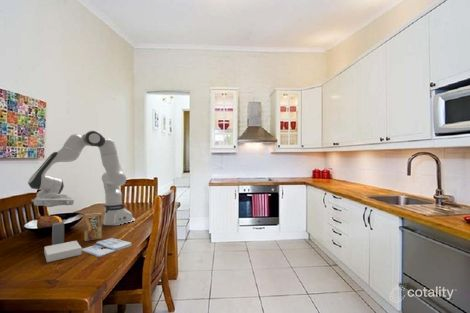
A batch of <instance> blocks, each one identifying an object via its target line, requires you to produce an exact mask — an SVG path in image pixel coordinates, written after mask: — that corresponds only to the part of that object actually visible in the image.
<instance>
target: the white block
mask: <svg viewBox="0 0 470 313" xmlns="http://www.w3.org/2000/svg"><path fill="white" fill-rule="evenodd" d="M43 249H44V250H43V253H44V256H45V257H44V258H45V259H46V260H45V261H46V263H50V262H54V261H58V260H62V259H68V258H71V257H72V258H73V257H77V256H81V255H82V251H81V249H82V246H81V245H80V244H79V242H78V240H71V241H67V242H64V243H61V244H56V245H52V244H51V245H46V246H44V248H43Z"/></svg>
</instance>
